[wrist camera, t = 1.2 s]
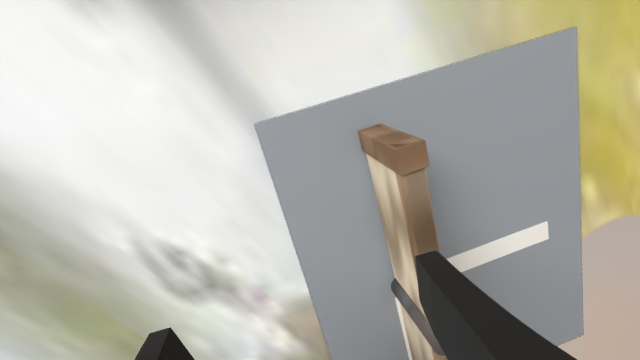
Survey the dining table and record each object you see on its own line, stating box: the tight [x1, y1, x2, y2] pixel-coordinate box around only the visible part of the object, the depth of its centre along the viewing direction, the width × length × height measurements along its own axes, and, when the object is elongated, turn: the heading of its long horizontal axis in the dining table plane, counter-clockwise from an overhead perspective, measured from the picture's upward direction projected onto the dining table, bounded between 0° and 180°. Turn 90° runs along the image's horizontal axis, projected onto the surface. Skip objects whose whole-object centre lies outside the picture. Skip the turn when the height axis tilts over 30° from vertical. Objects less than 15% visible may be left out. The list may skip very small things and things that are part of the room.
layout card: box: [254, 27, 584, 360], centre depth 25 cm, size 24×20×1 cm
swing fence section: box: [358, 123, 440, 323], centre depth 20 cm, size 10×1×5 cm, turn 15°
